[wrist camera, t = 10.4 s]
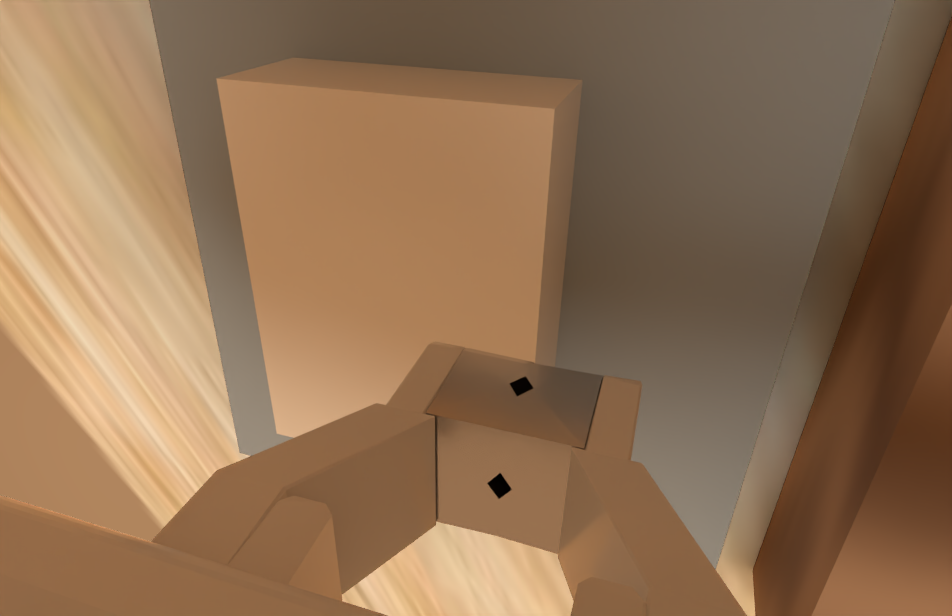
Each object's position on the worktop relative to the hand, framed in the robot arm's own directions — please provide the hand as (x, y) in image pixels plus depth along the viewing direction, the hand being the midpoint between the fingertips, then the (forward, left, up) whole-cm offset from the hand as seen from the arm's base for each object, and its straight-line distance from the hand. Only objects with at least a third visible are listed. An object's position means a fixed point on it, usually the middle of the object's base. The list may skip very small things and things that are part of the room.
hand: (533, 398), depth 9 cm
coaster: (+1, -3, -4) cm, 5 cm away
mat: (+1, -3, -6) cm, 6 cm away
